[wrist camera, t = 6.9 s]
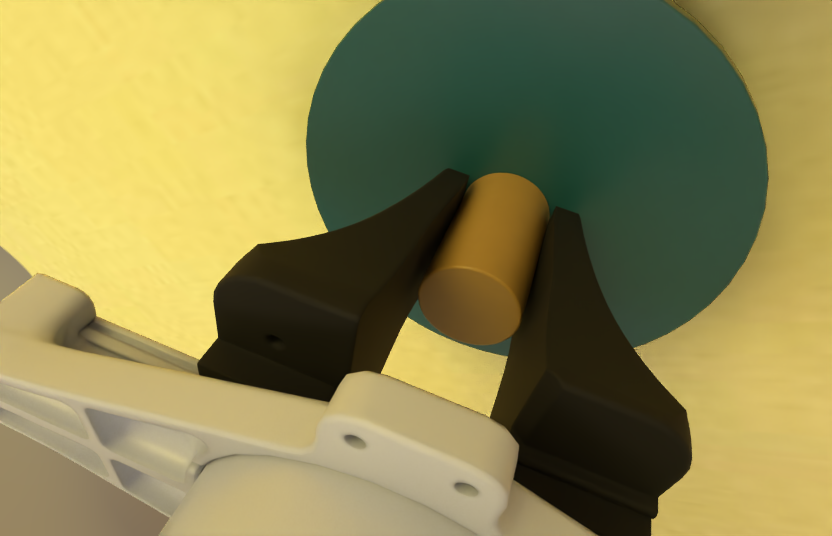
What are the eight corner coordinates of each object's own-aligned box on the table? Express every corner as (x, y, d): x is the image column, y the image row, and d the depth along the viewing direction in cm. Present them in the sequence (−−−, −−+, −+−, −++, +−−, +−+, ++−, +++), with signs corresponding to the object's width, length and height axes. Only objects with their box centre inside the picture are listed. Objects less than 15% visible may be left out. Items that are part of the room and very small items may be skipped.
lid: (871, 224, 13) (952, 391, 9) (508, 378, 21) (476, 499, 17) (524, -207, 10) (445, -208, 6) (260, 164, 18) (160, 256, 15)
